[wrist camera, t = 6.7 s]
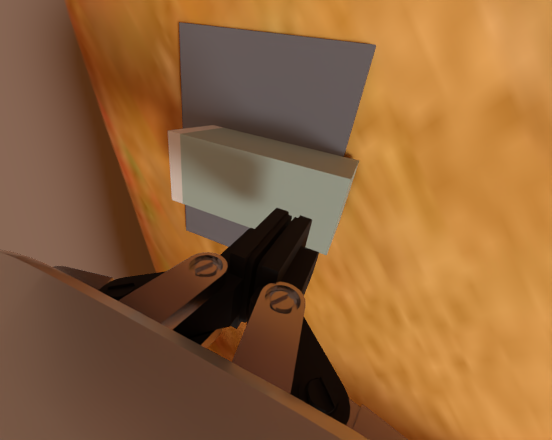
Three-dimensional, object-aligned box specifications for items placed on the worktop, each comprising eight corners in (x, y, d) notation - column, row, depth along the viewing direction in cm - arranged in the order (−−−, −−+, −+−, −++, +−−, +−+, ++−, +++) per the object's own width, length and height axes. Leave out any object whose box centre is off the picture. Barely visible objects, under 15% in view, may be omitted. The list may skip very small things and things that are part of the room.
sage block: (351, 179, 12) (167, 130, 16) (326, 255, 15) (171, 199, 18) (359, 160, 17) (213, 125, 20) (339, 222, 19) (211, 181, 22)
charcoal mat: (375, 46, 14) (375, 44, 14) (309, 274, 23) (307, 277, 22) (183, 24, 18) (179, 22, 17) (189, 228, 27) (186, 230, 26)
